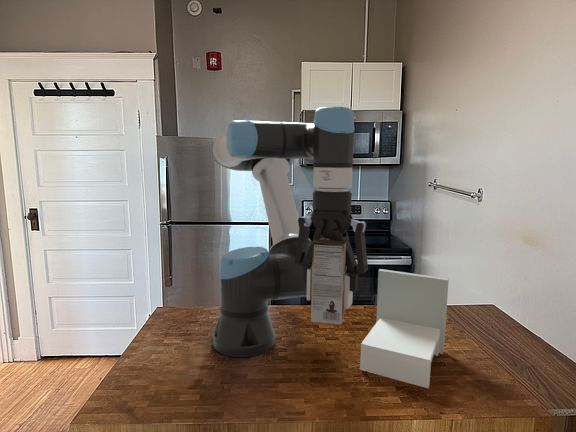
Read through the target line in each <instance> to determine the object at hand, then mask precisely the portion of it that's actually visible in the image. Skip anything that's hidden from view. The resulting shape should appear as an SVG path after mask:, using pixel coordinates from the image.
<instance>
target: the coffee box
mask: <svg viewBox="0 0 576 432" xmlns="http://www.w3.org/2000/svg"><path fill="white" fill-rule="evenodd" d="M347 272H348V269H347V266H346V240H345V241H337V240H336V238H332V237H330V236H328V237H320V238H315V239H314V241H313V242H312V288H311V300H310V301H311V303H310V322H312V323H323V324H330V325H332V324H333V325H343V321H344V316H345V313H346V308H344V295H345V275H347Z"/></svg>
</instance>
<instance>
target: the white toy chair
mask: <svg viewBox="0 0 576 432" xmlns="http://www.w3.org/2000/svg"><path fill="white" fill-rule="evenodd" d="M377 276H378V277H377V294H376V295H377V298H376V299H377V301H376V321H375V322H376V323H375V324H374V326H373V327H372V328H371V329H370V331H369V332H368V334H367V335H366V336H365V338H364V339H363V340H362V342H361V343H360V361H359V362H360V363H359V364H360V365H359V366H360V367H359V370H360V371H363V372H366V371H367V373H371V374H375V375H376V376H377V375H378V376H382V377H385V378H388V379H392V380H395V381H400V382H403V383H406V384H409V385H410V384H411V385H414V386H418V387H422V388H425V389H429V387H430V385H431V384H430V381H431V380H430V379H431V367H432V361H433V359H434V356H435V355H436V357H438V356H439V353H440V355H444V353H443V352H445V340H446V322H447V310H448V309H447V308H448V298H449V297H448V294H449V281H450V278H446V277H440V276H435V275H434V276H432V275H425V274H420V273H419V274H418V273H410V272H405V271H398V270H397V271H395V270H389V269H383V268H382V269H381V268H379V269H378V273H377Z"/></svg>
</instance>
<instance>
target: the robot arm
mask: <svg viewBox="0 0 576 432" xmlns="http://www.w3.org/2000/svg"><path fill="white" fill-rule="evenodd" d="M354 116H355V114H354V111H353V110H352V108H350V107H346V106H323V107H318V108H317V109H316V110H315V111H314V118H313V122H307V123H306V122H287V121H282V122H281V121H261V120H249V119H242V120H240V119H239V120H231V121H230V122H229V123H228V125H227V130H226V132H224V133H222V134H220V135H217V137H216V138H215V139H214V140H213V142H212V144H211V149H210V150H211V155H212V157H213V159H214V161H215V162H216V163H217V164H218V165H220V166H221V167H223V168H225V169H228V170H232V171H238V172H241V171H243V172H252V176H253V178H254V180H256V181H258V182H259V186H260V190H261V194H262V199H263V204H264V209H265V213H266V217H267V222H268V226H269V230H270V236H271V239H272V245H271V247H270V248H269V250H268V249H267V248H266V247H265V246H264V247H263V246H247V247H246V246H245V247H240V248H236V249H233V250H230V251H228V252H226V253H225V254H223V255H222V256H221V258H220V261H219V269H218V270H219V273H218V277H219V308H220V309H219V311H220V312H219V316H218V320H217V323H216V326H215V330H214V332H213V337H212V338H213V341H212V342H213V348H214V349H215V350H216V352H218V353H220V354H221V355H223V356H227V357H231V358H232V357H233V358H251V357H256V356H259V355H263V354H265V353H267V352H268V351H270V350H271V349H272V348H273V347H274V346H275V343H276V334H275V329H274V327H273V324H272V321H271V318H270V315H269V314H270V313H269V307H268V306H269V301H277V300H287V299H294V298H306V301H309V302H310V301H311V288H312V242H313V241H314V239H315V238H320V237H328V236H330V237H332V238H336V240H337V241H345V240H346V266H347V272H348V273H346V275H345V295H344V308H345V309H349V308H350V307H351V306H352V305H353V297H354V295H353V293H354V292H355V291H357V289H358V287H359V285H358V283H359V275H363V274H365V272H367V271H368V270H369V264H368V263H369V262H368V253H367V245H366V234H365V232H366V229H367V222H366V221H365V220H362V221H359V220H356V219H354V218H353V216H352V192H351V190H349V189H351V188H353V161H354V144H355V142H354V141H355V140H354V139H355V132H356V130H355V129H356V128H355V117H354ZM296 159H297V160H298V159H299V160H300V159H301V160H313V176H312V177H313V179H312V180H313V181H312V186H313V188H314V189H315V190H314V191H313V192H312V213H311V215H310V216H307V215H304V216H301V217H300V216H299V212H298V209H297V206H296V202H295V198H294V196H293V191H292V188H291V185H290V184H291V183H290V181H289V178H288V174H289V172H290V170H291V168H292V166H293V163H294V160H296ZM312 225H313V226H314V227H315V231H314V233H313V236H312V240H311V239H310V238H309V235H310V229H311V228H310V227H311V226H312ZM350 227H352V231H353V232H354V243H355V252H356V254H355V255H356V257H355V255H354V250H353V249H352V245H351V243H350V238H349V233H348V230H349V228H350Z"/></svg>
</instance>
